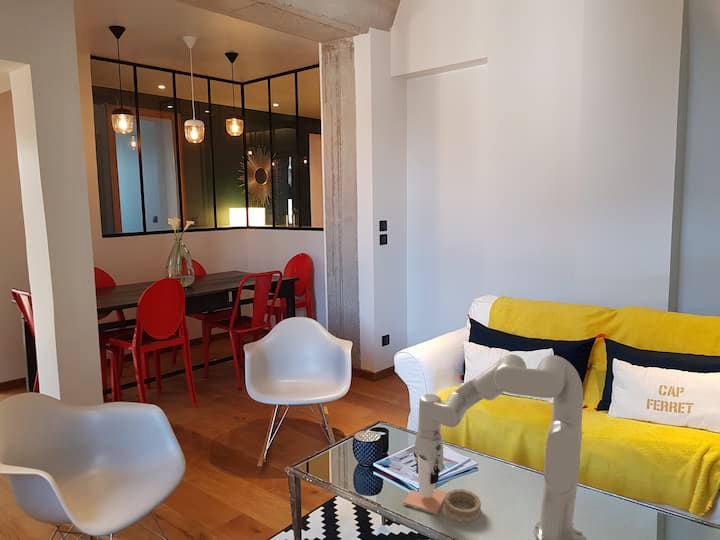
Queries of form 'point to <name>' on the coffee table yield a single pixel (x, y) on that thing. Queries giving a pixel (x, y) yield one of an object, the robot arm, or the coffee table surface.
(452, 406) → the robot arm
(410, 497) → the terracotta tile
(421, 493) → the drinking glass
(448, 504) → the collar ring
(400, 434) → the coffee table surface
